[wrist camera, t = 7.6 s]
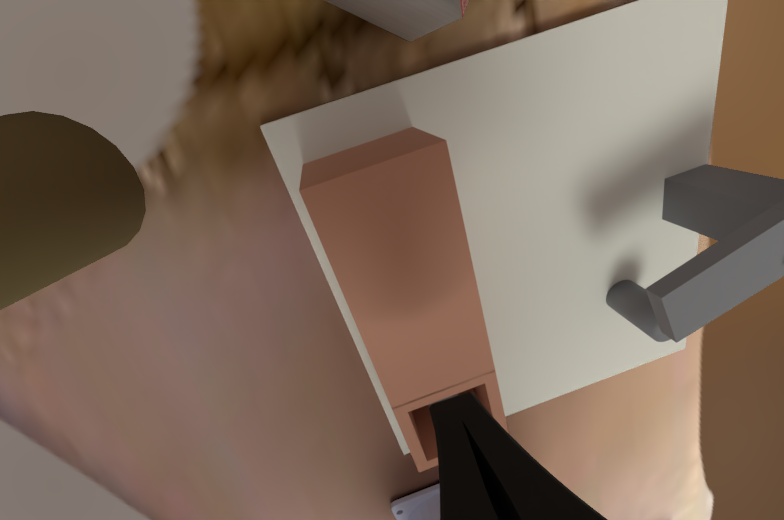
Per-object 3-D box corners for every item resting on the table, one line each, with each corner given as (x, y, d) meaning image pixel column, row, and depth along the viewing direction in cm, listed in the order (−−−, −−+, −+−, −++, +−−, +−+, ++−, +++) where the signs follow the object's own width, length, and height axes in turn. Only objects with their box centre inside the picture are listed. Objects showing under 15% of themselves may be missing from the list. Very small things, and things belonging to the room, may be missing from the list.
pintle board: (679, 342, 26) (783, 414, 20) (401, 447, 25) (428, 553, 20) (721, -28, 16) (947, -92, 10) (261, 125, 15) (229, 148, 9)
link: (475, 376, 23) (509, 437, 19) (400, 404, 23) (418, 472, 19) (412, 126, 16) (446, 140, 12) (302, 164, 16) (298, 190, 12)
